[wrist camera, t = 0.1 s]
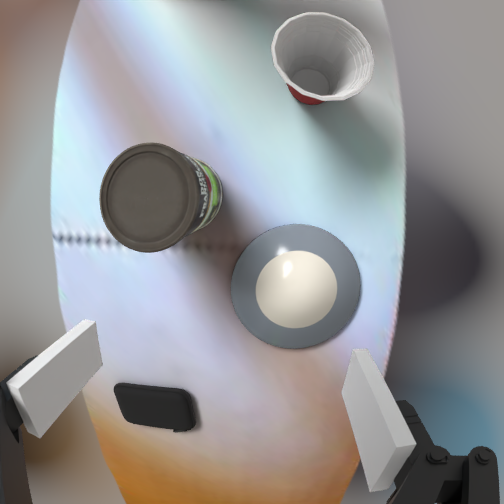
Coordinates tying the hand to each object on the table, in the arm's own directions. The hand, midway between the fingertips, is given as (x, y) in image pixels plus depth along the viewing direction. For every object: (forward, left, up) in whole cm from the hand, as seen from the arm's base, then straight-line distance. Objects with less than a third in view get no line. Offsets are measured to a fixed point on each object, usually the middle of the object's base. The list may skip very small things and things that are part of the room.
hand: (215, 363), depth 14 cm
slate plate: (+5, +7, -28) cm, 29 cm away
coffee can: (-7, -9, -28) cm, 30 cm away
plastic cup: (-23, +7, -28) cm, 37 cm away
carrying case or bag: (+30, -15, -29) cm, 44 cm away
